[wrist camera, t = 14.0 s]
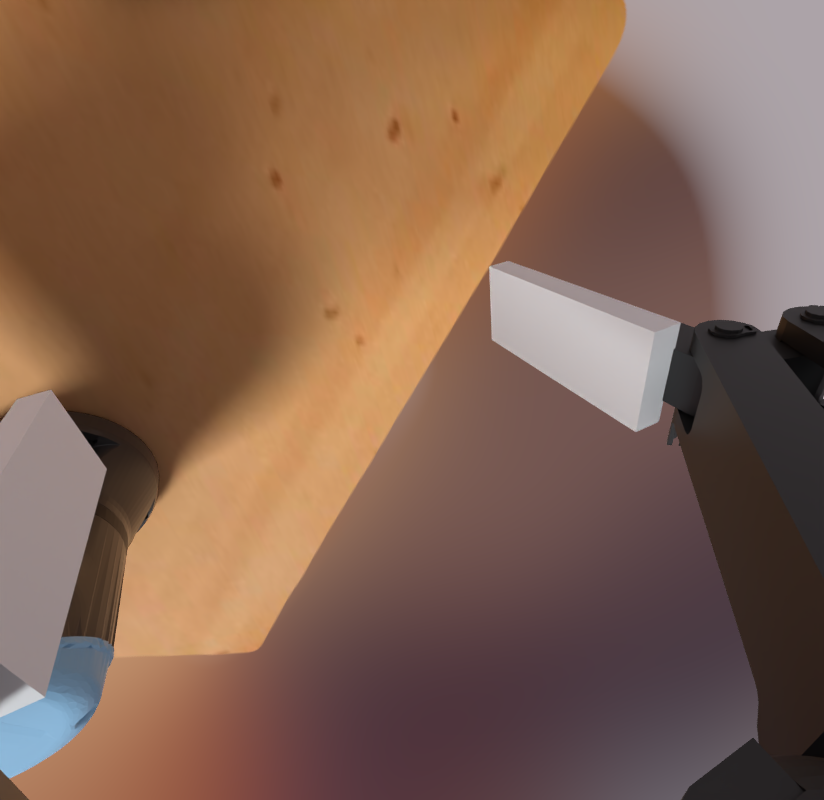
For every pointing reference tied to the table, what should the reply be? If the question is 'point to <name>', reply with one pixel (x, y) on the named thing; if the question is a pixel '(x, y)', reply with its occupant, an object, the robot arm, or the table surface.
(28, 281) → the table surface
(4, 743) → the robot arm
